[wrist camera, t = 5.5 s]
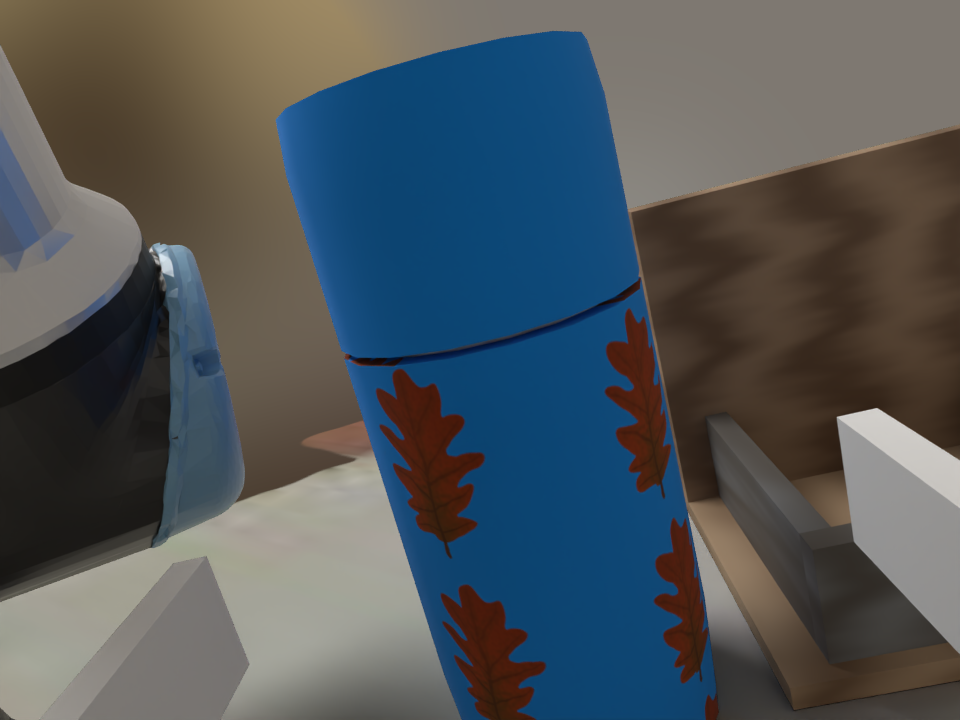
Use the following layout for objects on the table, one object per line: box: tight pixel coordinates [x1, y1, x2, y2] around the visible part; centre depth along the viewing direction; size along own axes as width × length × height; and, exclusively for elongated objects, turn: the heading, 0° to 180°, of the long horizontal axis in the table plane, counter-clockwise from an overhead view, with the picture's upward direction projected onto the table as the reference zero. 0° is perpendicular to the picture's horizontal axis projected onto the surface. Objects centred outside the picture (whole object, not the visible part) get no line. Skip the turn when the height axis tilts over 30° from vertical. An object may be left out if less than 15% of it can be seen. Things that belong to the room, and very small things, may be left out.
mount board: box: [628, 125, 960, 710], centre depth 31 cm, size 19×17×18 cm
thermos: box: [276, 31, 719, 720], centre depth 26 cm, size 11×11×25 cm
